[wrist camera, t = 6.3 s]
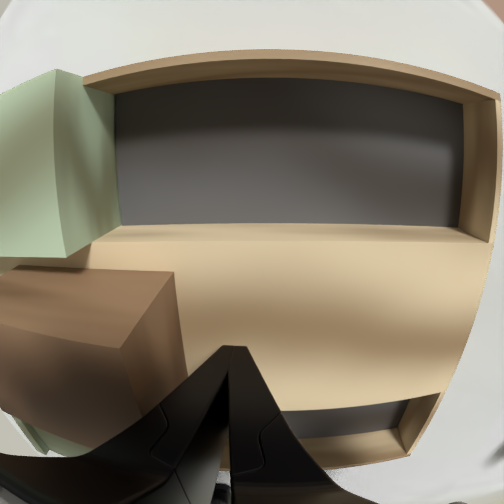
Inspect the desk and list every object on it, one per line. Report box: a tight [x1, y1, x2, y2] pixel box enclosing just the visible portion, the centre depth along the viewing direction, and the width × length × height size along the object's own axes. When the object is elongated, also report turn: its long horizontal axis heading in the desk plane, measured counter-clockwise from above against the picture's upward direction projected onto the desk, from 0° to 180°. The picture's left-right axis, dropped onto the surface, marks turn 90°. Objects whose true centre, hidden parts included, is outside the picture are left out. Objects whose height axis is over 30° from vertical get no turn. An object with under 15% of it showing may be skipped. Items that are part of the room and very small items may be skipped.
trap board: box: [0, 49, 503, 471], centre depth 10 cm, size 18×22×4 cm
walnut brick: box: [0, 265, 188, 449], centre depth 8 cm, size 4×7×4 cm, turn 90°
